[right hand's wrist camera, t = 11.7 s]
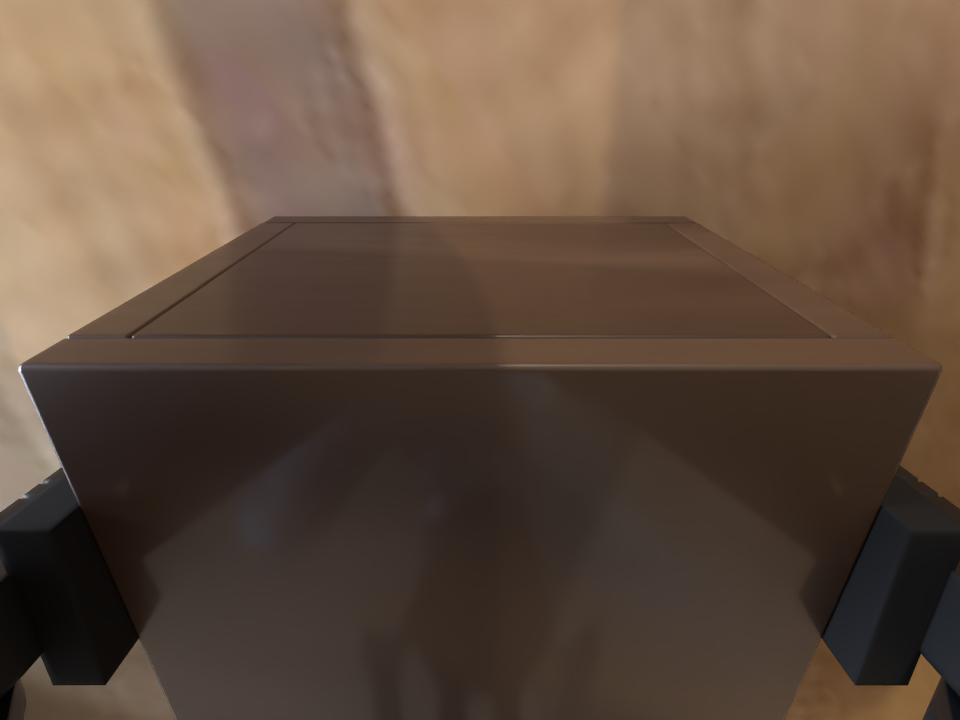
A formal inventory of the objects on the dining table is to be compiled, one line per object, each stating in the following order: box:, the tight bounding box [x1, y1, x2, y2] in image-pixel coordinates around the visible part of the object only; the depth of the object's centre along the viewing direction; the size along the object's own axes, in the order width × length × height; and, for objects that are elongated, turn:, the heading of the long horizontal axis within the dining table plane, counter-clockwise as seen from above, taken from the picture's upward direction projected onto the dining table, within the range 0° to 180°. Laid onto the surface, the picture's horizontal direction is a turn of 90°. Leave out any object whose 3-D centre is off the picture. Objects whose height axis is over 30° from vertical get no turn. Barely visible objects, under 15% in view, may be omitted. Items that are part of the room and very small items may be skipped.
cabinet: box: [19, 217, 942, 720], centre depth 14 cm, size 18×11×8 cm, turn 0°
